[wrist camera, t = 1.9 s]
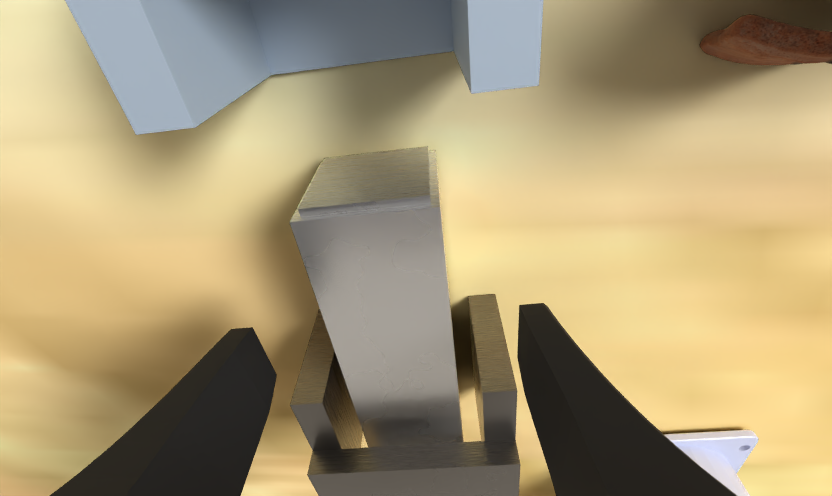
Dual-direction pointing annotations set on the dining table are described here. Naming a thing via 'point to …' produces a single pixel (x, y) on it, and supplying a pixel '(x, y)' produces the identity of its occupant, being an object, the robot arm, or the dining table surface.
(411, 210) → the bar
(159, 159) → the dining table surface
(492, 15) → the socket
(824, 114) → the dining table surface
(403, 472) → the sleeve
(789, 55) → the pottery mug
